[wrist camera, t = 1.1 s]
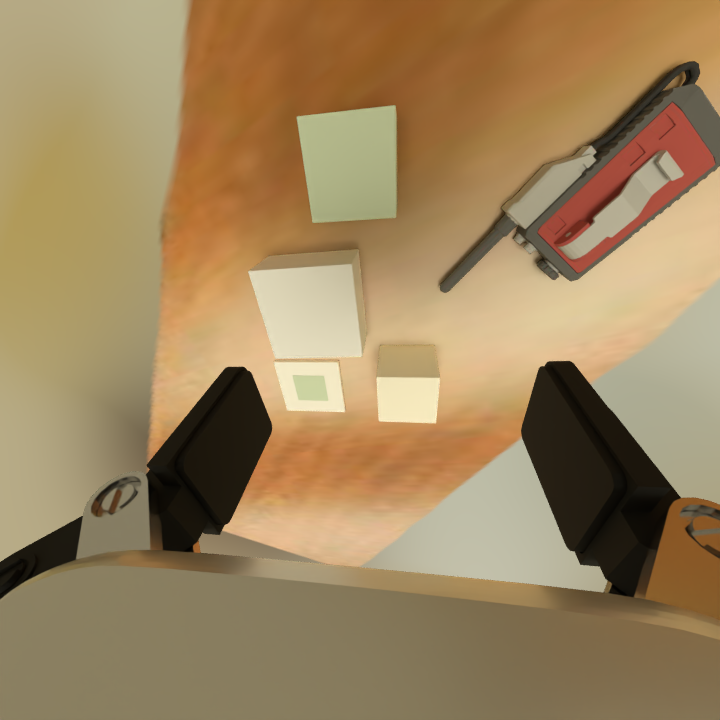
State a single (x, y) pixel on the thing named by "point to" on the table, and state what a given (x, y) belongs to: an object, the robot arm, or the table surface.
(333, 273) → the base block
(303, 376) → the card
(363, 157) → the sage cube
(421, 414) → the cream cube
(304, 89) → the table surface
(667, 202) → the walkie-talkie
